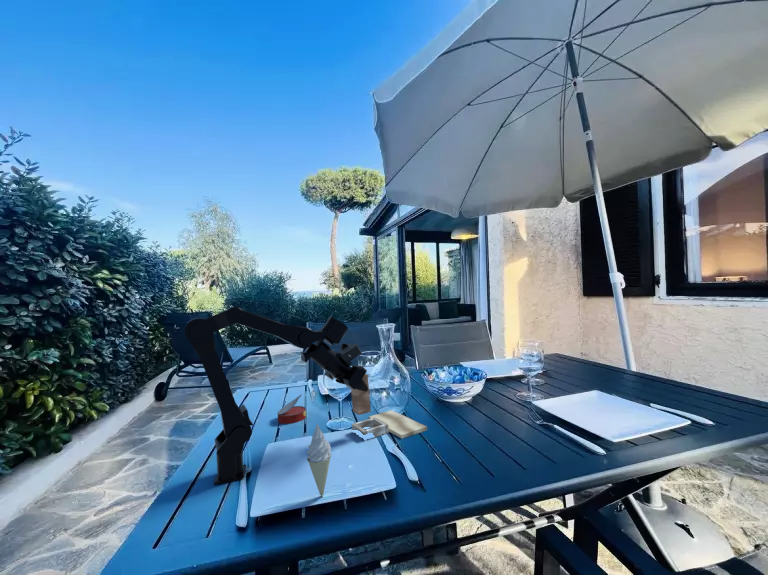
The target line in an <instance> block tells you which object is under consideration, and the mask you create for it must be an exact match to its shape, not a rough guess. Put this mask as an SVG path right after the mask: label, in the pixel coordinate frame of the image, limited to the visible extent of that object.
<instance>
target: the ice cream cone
mask: <svg viewBox="0 0 768 575" xmlns="http://www.w3.org/2000/svg"><path fill="white" fill-rule="evenodd" d="M307 449H308V450H307V452H306V453H307V455H308V456H307V457H306V460H307V462H308V465H309V467H310V470H311V471H310V472H311V473H312V476H313V480H314V482H315V485H316V487H317V490H318V493H319V496H320V495H321V496H322V495H323V496H324V493H325V489H326V483H327V478H328V472H329V468H330V462H331V457H332V452H331V451H332V450H331V449H332V448H331V444H330V442H329V441H328V440H327V439H325V434H324V433H323V432H322V430H321V428H320V425H319V424H318V423H316V426H315V429H314V432H313V434H312V436H311V442H310V444H309V445H308V446H307ZM321 496H320V497H321Z"/></svg>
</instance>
